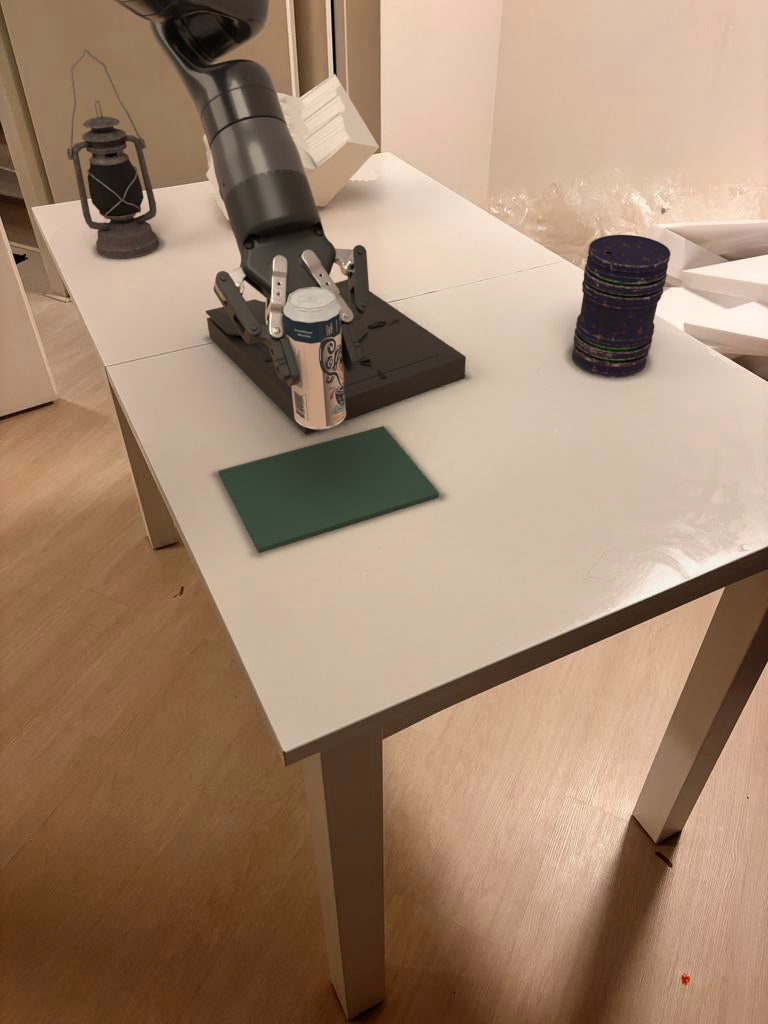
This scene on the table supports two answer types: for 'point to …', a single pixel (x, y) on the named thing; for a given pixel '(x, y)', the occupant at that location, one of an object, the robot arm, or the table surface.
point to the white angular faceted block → (320, 139)
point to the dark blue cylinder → (619, 304)
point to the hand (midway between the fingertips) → (324, 375)
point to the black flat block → (382, 370)
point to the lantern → (114, 185)
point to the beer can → (316, 357)
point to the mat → (324, 487)
